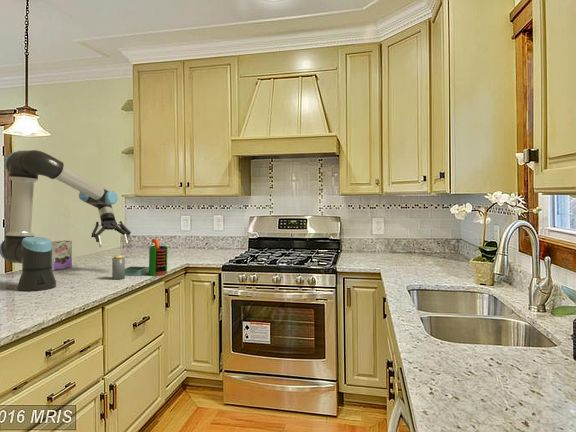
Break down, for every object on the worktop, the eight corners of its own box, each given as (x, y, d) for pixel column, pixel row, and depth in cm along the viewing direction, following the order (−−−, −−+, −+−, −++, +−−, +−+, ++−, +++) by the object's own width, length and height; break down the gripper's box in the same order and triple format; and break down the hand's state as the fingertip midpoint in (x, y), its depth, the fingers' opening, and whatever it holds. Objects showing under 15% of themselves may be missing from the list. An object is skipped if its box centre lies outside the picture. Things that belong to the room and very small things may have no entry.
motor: (159, 276, 210) (160, 240, 209) (145, 275, 212) (145, 239, 211) (169, 273, 220) (169, 238, 219) (155, 272, 222) (155, 238, 221)
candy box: (51, 271, 219) (50, 242, 218) (43, 270, 221) (43, 242, 220) (72, 267, 232) (72, 240, 231) (65, 266, 234) (64, 239, 233)
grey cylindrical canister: (121, 280, 200) (121, 256, 199) (110, 279, 200) (110, 256, 199) (126, 277, 206) (126, 255, 205) (115, 277, 206) (115, 254, 205)
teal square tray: (142, 276, 211) (142, 270, 211) (121, 275, 211) (121, 269, 211) (150, 272, 222) (150, 266, 222) (130, 271, 222) (130, 266, 222)
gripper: (128, 220, 232) (136, 247, 221) (82, 221, 217) (88, 251, 206) (130, 211, 227) (138, 239, 216) (84, 212, 212) (89, 242, 201)
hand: (114, 245), depth 211 cm, fingers open, 13 cm apart
